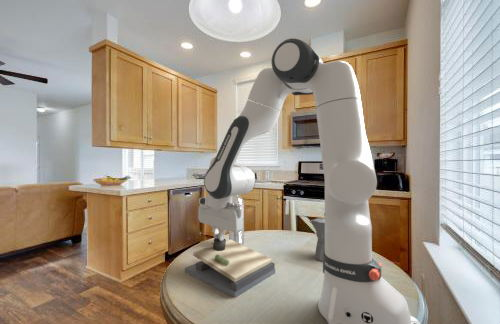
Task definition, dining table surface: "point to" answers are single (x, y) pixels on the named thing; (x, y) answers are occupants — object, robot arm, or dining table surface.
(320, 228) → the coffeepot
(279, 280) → the dining table surface
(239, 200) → the water bottle
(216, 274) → the base
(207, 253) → the plate
